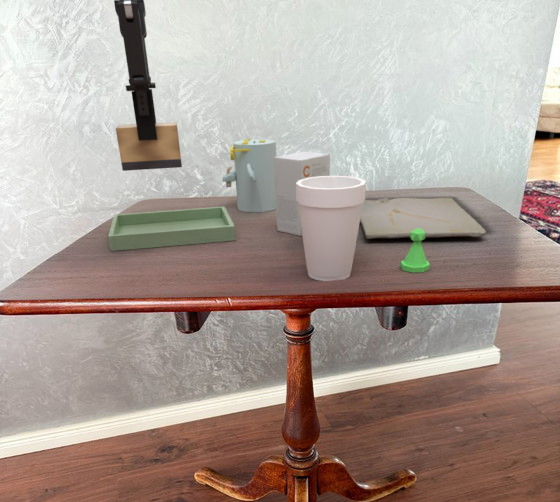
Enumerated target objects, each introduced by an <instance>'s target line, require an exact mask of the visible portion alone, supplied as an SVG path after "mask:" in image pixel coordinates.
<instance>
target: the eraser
mask: <svg viewBox="0 0 560 502" xmlns="http://www.w3.org/2000/svg"><path fill="white" fill-rule="evenodd" d="M155 126H156V134H157V140H142V141H139V139H138V132H137V126H136V123H131V124H130V123H129V124H128V123H127V124H118V125H117V126H116V127H115V133H116V139H117V145H118V152H119V157H120V162H121V169H122V171H123V172H124V171H125V172H126V171H128V172H129V171H141V170H143V171H144V170H157V169H158V170H159V169H160V170H161V169H176V168H182V167H183V163H182V156H181V148H180V147H181V146H180V138H179V129H178V128H179V127H178V122H177V121H169V122H156V123H155Z"/></svg>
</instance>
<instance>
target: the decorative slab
mask: <svg viewBox="0 0 560 502" xmlns="http://www.w3.org/2000/svg"><path fill="white" fill-rule="evenodd" d="M360 224H361V226H362V229H363V233H364V235H365V238H366V240H373V239H402V238H403V239H404V238H410V232H411V231H413V230H415V229H417V228H420V229H422V230H423V231H424V232H425V238H433V239H434V238H450V237H451V238H452V237H473V238H477V237H482V236H485V234H486V233H487V231H486V230H485V228H484V227H483V226H482V225H481V224H480V223H479V222H478V221H477V220H476V219H475V218H473V217H472V216H471V215H470V214H469V213H468V212H466V210H465V209H463V208H462V207H461V206H460V205H459V204H458V203H457V202H456V201H455V200H454V199H453V198H452V197H439V198H417V197H416V198H413V197H397V198H393V199H389V198H388V197H383V198H378V199H377V200H371V199H365V200H364V202H363V206H362V212H361V217H360Z"/></svg>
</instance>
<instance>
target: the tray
mask: <svg viewBox="0 0 560 502" xmlns="http://www.w3.org/2000/svg"><path fill="white" fill-rule="evenodd" d="M107 238H108V244H109V248H110V252H117V251H118V252H119V251H128V250H129V251H130V250H142V249H152V248H153V249H154V248H164V247H165V248H166V247H176V246H188V245H200V244H210V243H223V242H235V241H236V240H237V239H236V226H235V224H234V222H233V219H232V218H231V216H230V214H229V213H228V210H227V208H226V206H211V207H197V208H185V209H184V208H183V209H172V210H159V211H144V212H132V213H119V214H118V213H117V214H113V217H112V220H111V224H110V229H109V232H108V235H107Z"/></svg>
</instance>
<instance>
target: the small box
mask: <svg viewBox="0 0 560 502" xmlns="http://www.w3.org/2000/svg"><path fill="white" fill-rule="evenodd" d="M330 155H331V154H330V153H324V152H316V151H315V152H314V151H300V152H295V153H289V154H284V155H280V156H276V157H275V158H274V160H275V186H276V209H275V210H276V211H275V212H276V230H277V231H278V232H281V233H284V234H285V233H286V234H290V235H294V236H298V237H302V229H301V222H300V215H299V207H298V202H297V201H296V183H297V182H298V181H299V180H301V179H305V178H310V177H318V176H330V165H331V163H330V162H331V161H330V159H331V156H330Z"/></svg>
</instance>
